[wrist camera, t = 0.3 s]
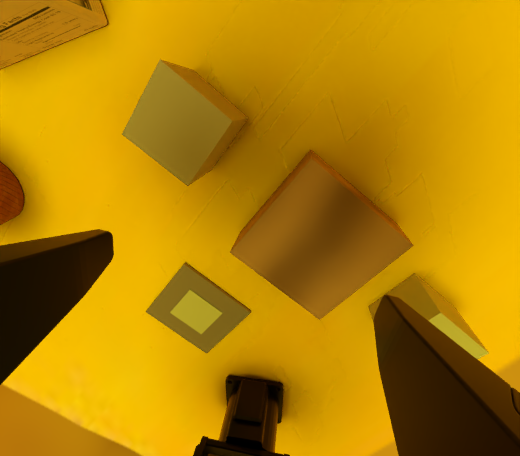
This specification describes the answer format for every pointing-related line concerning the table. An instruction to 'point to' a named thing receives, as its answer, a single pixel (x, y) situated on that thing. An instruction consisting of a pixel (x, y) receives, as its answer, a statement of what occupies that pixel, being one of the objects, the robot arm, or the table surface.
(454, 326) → the sage cube
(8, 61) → the light bulb box
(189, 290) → the swatch card
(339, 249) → the walnut block
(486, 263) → the table surface
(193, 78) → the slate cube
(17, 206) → the disposable coffee cup
